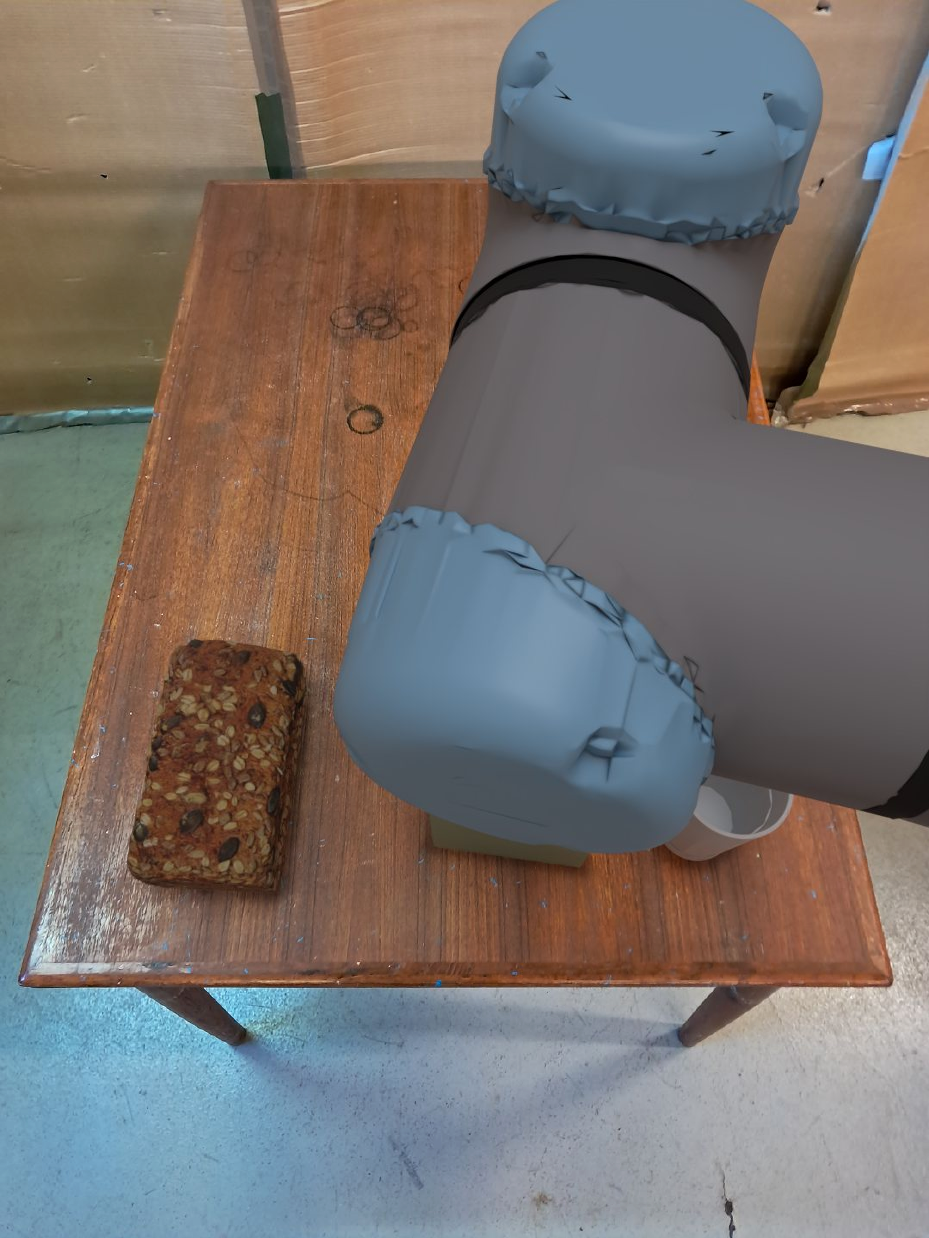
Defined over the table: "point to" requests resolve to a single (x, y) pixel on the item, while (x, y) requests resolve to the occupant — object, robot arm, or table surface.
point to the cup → (729, 818)
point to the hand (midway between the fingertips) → (531, 702)
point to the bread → (220, 769)
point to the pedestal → (499, 845)
